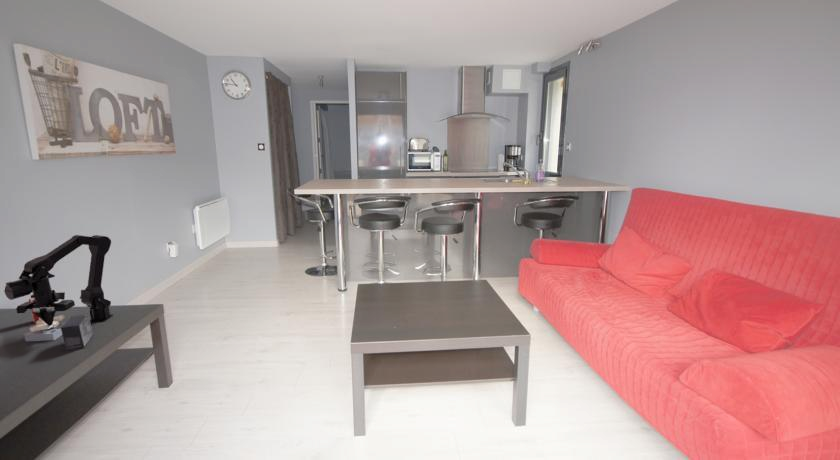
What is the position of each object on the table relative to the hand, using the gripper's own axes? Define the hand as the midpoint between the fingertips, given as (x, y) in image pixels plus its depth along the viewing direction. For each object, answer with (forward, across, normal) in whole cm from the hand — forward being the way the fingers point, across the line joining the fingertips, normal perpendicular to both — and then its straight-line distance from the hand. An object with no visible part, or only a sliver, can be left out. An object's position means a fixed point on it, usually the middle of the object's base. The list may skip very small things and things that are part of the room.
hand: (50, 325), depth 171 cm
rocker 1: (+1, +4, 0) cm, 4 cm away
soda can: (+6, +18, -18) cm, 26 cm away
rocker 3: (+1, +4, -7) cm, 8 cm away
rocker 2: (+1, +4, -4) cm, 5 cm away
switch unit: (+6, +4, -4) cm, 8 cm away
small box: (+6, -14, +6) cm, 17 cm away
